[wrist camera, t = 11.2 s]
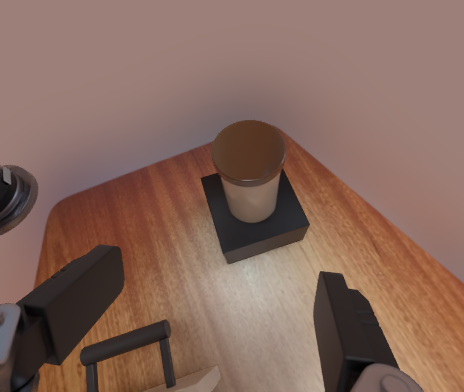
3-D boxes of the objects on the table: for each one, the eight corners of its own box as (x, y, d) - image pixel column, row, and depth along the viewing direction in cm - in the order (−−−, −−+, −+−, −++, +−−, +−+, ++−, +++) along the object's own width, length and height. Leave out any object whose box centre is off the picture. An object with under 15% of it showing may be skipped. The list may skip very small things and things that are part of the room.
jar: (234, 232, 26) (223, 191, 18) (219, 185, 29) (203, 132, 21) (287, 214, 27) (298, 167, 19) (267, 170, 29) (270, 111, 21)
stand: (228, 264, 30) (223, 253, 26) (208, 197, 34) (200, 177, 30) (302, 239, 30) (310, 224, 26) (274, 176, 34) (276, 153, 30)
